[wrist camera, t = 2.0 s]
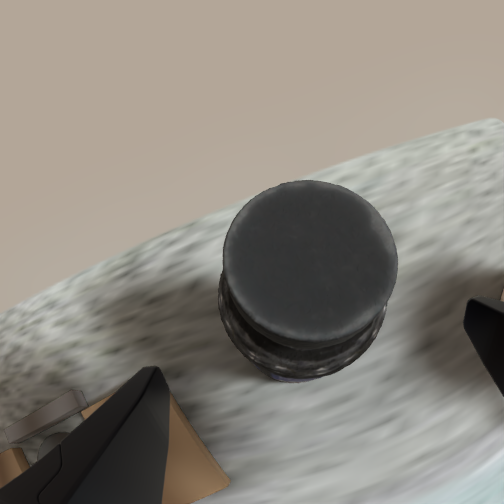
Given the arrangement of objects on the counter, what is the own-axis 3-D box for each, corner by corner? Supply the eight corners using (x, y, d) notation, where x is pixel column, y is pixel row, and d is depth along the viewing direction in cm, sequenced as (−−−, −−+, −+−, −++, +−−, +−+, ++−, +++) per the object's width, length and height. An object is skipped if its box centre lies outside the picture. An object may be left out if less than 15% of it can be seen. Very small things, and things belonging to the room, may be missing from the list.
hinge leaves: (147, 350, 18) (139, 347, 17) (246, 499, 13) (244, 506, 12) (-16, 445, 14) (-25, 445, 13) (42, 553, 9) (34, 556, 8)
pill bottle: (359, 307, 18) (439, 205, 8) (320, 399, 16) (383, 411, 6) (269, 269, 19) (258, 139, 10) (224, 356, 17) (151, 304, 7)
